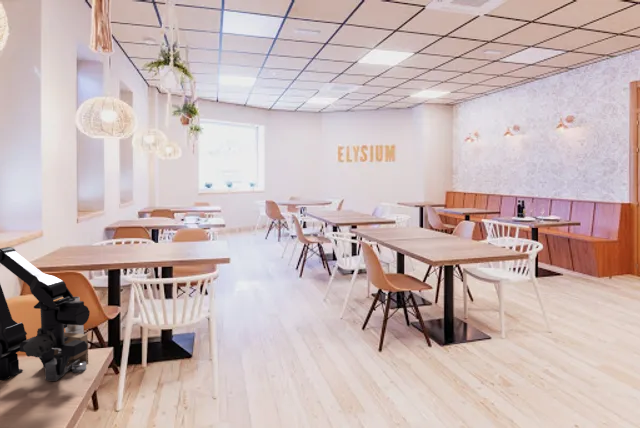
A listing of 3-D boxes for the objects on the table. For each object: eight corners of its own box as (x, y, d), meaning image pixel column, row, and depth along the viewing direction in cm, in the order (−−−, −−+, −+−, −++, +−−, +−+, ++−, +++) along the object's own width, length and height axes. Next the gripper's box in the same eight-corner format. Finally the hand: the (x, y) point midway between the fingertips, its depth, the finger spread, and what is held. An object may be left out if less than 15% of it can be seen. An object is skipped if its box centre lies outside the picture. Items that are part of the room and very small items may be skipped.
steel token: (68, 372, 135) (68, 365, 134) (78, 366, 138) (78, 360, 138) (79, 373, 134) (79, 366, 134) (89, 367, 138) (89, 361, 138)
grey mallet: (45, 380, 128) (45, 363, 127) (72, 361, 140) (72, 346, 140) (55, 380, 127) (55, 364, 127) (82, 362, 140) (81, 347, 139)
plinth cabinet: (43, 367, 138) (41, 338, 137) (58, 359, 144) (56, 331, 143) (74, 370, 136) (73, 341, 135) (88, 362, 141) (87, 334, 141)
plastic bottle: (80, 359, 144) (77, 300, 142) (59, 359, 144) (57, 300, 142) (90, 352, 150) (88, 295, 149) (71, 352, 150) (69, 295, 149)
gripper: (1, 329, 122) (4, 383, 123) (58, 334, 118) (60, 389, 120) (34, 317, 133) (37, 367, 134) (87, 321, 129) (89, 372, 130)
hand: (54, 374), depth 129 cm, fingers closed on grey mallet, 3 cm apart
